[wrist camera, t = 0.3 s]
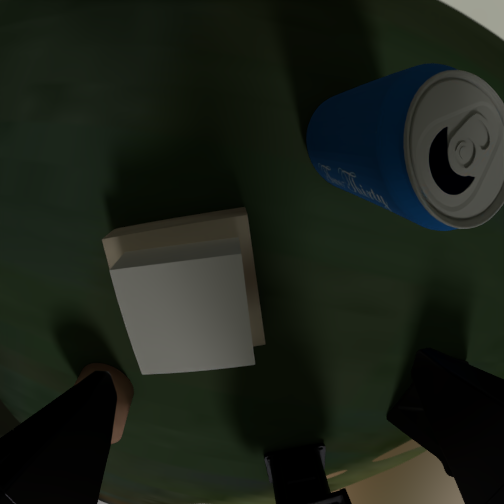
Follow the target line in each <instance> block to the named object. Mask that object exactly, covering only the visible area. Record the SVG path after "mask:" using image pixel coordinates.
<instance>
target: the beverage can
mask: <svg viewBox="0 0 504 504" xmlns="http://www.w3.org/2000/svg"><path fill="white" fill-rule="evenodd" d="M306 142H307V150H308V154H309V157H310V159H311V162H312V164H313V166H314V167H315V169H316V170H317V172H318V173H319V174H320V175H321V176H322V177H323V178H324V179H325V180H326V181H327V182H329V183H330V184H332V185H334V186H336V187H338V188H340V189H343V190H345V191H347V192H350V193H352V194H354V195H357V196H359V197H361V198H363V199H366V200H368V201H370V202H372V203H374V204H377V205H379V206H381V207H383V208H385V209H387V210H390V211H392V212H394V213H396V214H398V215H400V216H402V217H404V218H406V219H408V220H410V221H412V222H414V223H416V224H418V225H420V226H422V227H425V228H428V229H431V230H438V231H449V230H454V229H469V228H473V227H477V226H479V225H482V224H483V223H485V222H486V221H488V220H489V219H490V218H492V217H493V216H494V215H495V214H496V213H497V212H498V210H499V209H500V208H501V206H502V205H503V203H504V104H503V102H502V100H501V99H500V97H499V96H498V94H497V93H496V92H495V91H494V90H493V88H492V87H491V86H490V85H488V84H487V83H486V82H485V81H484V80H482V79H481V78H479V77H478V76H476V75H474V74H472V73H469V72H466V71H461V70H457V69H455V68H452V67H449V66H446V65H441V64H423V65H418V66H415V67H412V68H409V69H406V70H403V71H400V72H397V73H394V74H391V75H388V76H385V77H382V78H380V79H377V80H374V81H371V82H369V83H366V84H363V85H361V86H358V87H355V88H353V89H350V90H348V91H345V92H343V93H340V94H338V95H335V96H333V97H331V98H329V99H327V100H326V101H324V102H323V103H322V104H321V105H320V106H319V107H318V108H317V109H316V110H315V112H314V113H313V115H312V117H311V119H310V122H309V125H308V129H307V136H306Z"/></svg>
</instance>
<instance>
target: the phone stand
mask: <svg viewBox="0 0 504 504" xmlns="http://www.w3.org/2000/svg"><path fill="white" fill-rule="evenodd" d="M457 360H459V359H457ZM460 361H462V362H464V363H467V364H469V363H468V362H467V361H463V360H460ZM387 420H388V421H389V422H391V423H392V424H393V425H395V426H396V427H397V428H399V429H400V430H401V431H402V432H404V433H405V434H406V435H408V436H409V437H410V438H412V439H413V440H414V441H416V442H417V443H419V444H420V445H421V446H422V447H424V448H425V449H427V450H428V451H429V452H431V453H432V454H433V455H435V456H436V457H437V458H438V459H439V460H440V461H441V462H442V464H443V466H444V469H445V471H446V473H447V474H448V475H449V476H451V477H454V476H453V474H452V472H451V469H450V467H449V465H448V463H447V460H446V458H445V456H444V454H443V452H442V449H441V447H440V445H439V443H438V441H437V439H436V436H435V434H434V432H433V430H432V428H431V426H430V424H429V422H428V420H427V417H426V415H425V413H424V410H423V407H422V404H421V402H420V399H419V396H418V393H417V391H416V388H415V385H414V383H412V385H411V388H409V389H408V390H407V391H406V393H405V394H404V395H403V397H402V398H401V399H400V400H399V402H398V403H397V404H396V405H395V407H394V408H393V409H392V410H391V412H390V413H389V414H388V415H387Z"/></svg>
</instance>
